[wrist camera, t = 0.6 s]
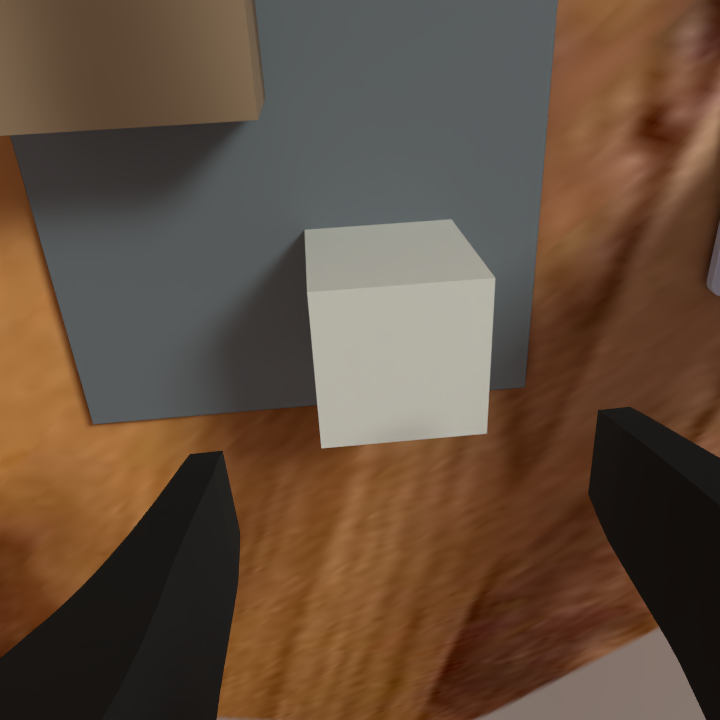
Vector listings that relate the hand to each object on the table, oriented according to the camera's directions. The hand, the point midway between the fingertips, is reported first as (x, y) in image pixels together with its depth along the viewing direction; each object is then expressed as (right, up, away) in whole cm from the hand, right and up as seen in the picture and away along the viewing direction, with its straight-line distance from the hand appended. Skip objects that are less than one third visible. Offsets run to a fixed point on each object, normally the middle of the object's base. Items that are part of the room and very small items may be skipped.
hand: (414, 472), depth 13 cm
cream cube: (0, +4, +8) cm, 9 cm away
